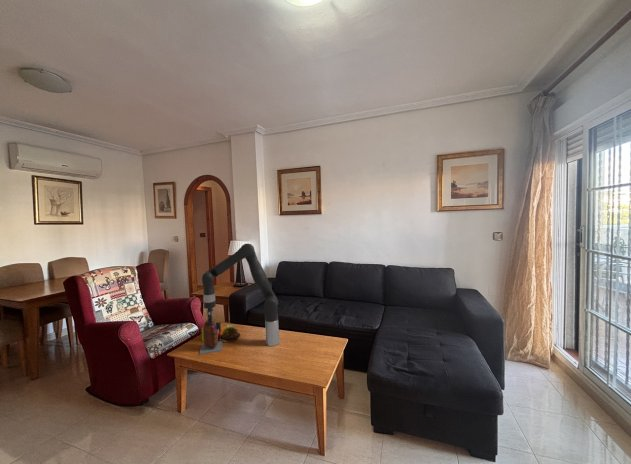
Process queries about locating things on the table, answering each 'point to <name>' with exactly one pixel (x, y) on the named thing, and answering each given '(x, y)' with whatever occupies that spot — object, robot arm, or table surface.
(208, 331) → the wooden figurine
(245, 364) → the table surface
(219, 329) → the puzzle toy
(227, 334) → the green-brown rounded mound
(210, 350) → the gray square panel
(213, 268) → the robot arm
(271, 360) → the table surface
